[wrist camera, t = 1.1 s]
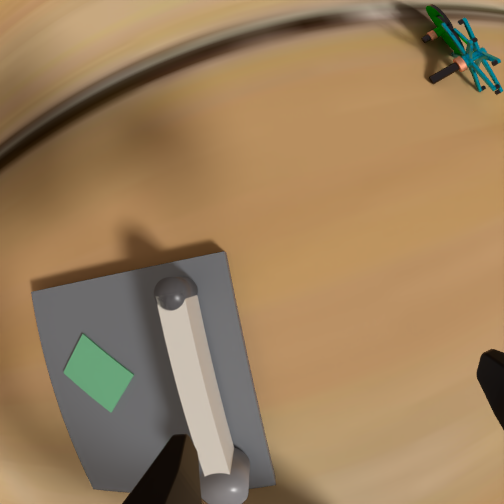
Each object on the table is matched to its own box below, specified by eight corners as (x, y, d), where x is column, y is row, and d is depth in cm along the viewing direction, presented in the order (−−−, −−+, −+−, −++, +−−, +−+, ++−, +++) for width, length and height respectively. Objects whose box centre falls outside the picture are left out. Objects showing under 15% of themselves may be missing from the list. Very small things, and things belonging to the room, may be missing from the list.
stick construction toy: (512, 102, 20) (511, 53, 15) (460, 132, 24) (449, 88, 18) (445, 29, 25) (425, -19, 19) (400, 54, 28) (373, 9, 23)
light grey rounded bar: (253, 476, 20) (252, 505, 16) (211, 481, 20) (204, 509, 16) (205, 272, 21) (194, 271, 17) (158, 281, 21) (139, 282, 17)
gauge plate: (275, 476, 21) (275, 486, 20) (98, 482, 21) (92, 490, 20) (226, 252, 22) (223, 251, 21) (39, 291, 22) (29, 292, 21)
